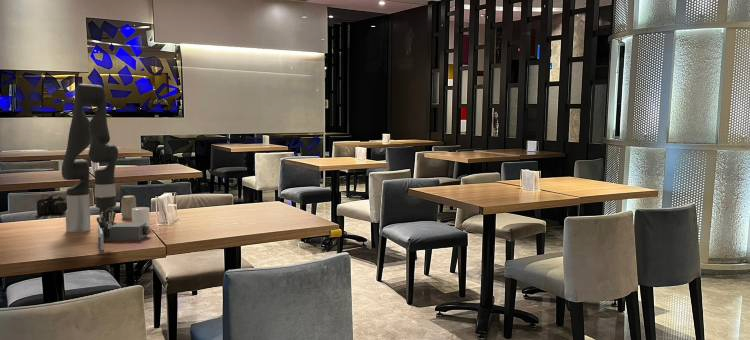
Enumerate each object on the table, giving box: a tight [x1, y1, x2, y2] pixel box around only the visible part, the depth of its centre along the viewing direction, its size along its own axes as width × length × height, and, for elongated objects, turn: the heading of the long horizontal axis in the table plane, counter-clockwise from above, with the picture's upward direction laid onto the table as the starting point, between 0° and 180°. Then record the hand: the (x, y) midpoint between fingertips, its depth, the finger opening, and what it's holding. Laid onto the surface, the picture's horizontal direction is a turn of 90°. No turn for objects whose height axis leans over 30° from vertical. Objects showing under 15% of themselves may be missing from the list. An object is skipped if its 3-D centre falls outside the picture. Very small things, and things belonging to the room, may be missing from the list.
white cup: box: [131, 206, 151, 227], centre depth 265 cm, size 8×8×10 cm
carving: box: [120, 195, 137, 220], centre depth 291 cm, size 6×8×12 cm
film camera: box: [36, 193, 67, 216], centre depth 307 cm, size 18×12×10 cm
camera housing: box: [102, 221, 150, 242], centre depth 245 cm, size 17×9×7 cm, turn 93°
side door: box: [97, 224, 105, 251], centre depth 230 cm, size 21×2×6 cm, turn 29°
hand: (107, 237), depth 225 cm, fingers closed
